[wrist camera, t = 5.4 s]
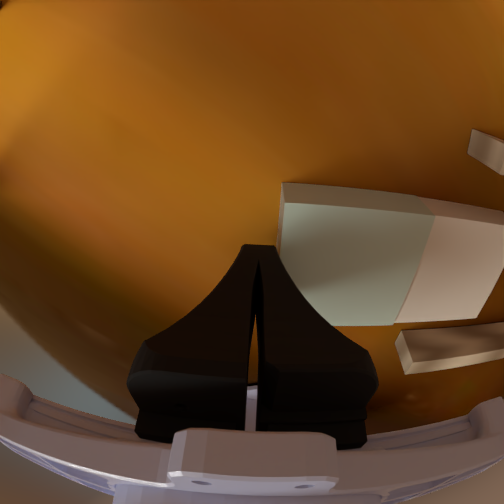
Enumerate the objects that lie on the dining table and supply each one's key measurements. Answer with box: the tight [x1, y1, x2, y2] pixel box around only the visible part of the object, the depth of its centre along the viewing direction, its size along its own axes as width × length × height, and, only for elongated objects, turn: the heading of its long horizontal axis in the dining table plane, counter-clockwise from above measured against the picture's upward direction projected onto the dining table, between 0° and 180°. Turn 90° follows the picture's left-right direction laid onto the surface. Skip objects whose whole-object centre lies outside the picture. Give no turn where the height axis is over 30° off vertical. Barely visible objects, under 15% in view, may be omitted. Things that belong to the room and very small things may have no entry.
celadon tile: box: [276, 182, 435, 326], centre depth 13 cm, size 6×6×2 cm
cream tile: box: [394, 197, 504, 323], centre depth 13 cm, size 6×6×2 cm
